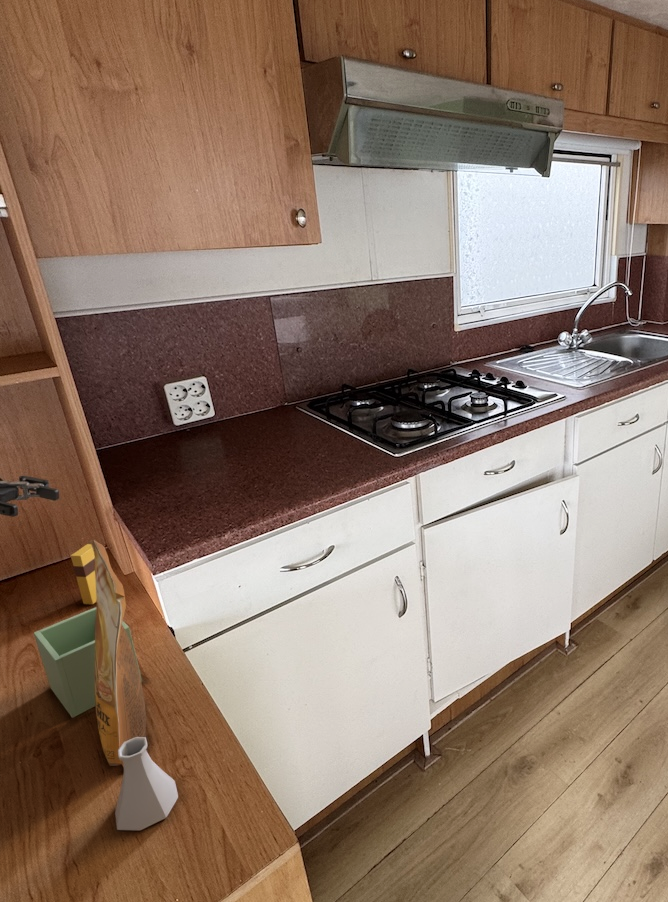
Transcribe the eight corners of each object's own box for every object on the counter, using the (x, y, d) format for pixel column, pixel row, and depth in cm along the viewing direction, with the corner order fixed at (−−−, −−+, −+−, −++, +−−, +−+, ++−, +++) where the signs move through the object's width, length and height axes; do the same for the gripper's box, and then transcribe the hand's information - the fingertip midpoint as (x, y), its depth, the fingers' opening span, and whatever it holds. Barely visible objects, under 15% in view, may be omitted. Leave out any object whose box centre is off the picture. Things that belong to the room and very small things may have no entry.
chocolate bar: (82, 604, 114) (69, 555, 111) (99, 590, 119) (87, 543, 115) (93, 604, 114) (80, 556, 111) (109, 591, 119) (97, 544, 115)
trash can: (72, 718, 88) (55, 660, 84) (50, 687, 94) (33, 632, 90) (142, 681, 95) (129, 627, 92) (118, 655, 101) (105, 603, 97)
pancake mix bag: (150, 680, 95) (115, 529, 86) (163, 763, 81) (123, 592, 71) (101, 697, 92) (60, 541, 82) (105, 787, 77) (55, 610, 68)
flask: (183, 775, 79) (171, 718, 76) (173, 823, 72) (158, 763, 69) (123, 789, 77) (107, 731, 73) (106, 840, 70) (88, 779, 67)
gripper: (1, 491, 120) (71, 507, 118) (-75, 517, 106) (2, 536, 104) (-2, 457, 118) (69, 473, 116) (-80, 479, 104) (-2, 497, 102)
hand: (37, 503), depth 110 cm, fingers open, 8 cm apart
